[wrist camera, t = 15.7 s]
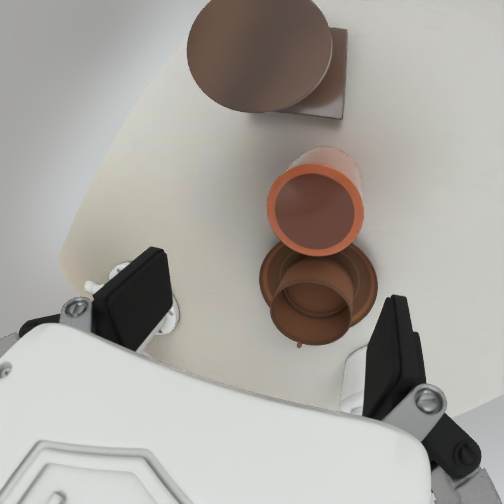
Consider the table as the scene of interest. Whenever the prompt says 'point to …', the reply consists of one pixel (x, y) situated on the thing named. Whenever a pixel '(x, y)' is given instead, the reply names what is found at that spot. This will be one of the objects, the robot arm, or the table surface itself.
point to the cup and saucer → (317, 292)
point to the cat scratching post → (269, 57)
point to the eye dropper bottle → (354, 383)
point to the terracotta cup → (317, 202)
